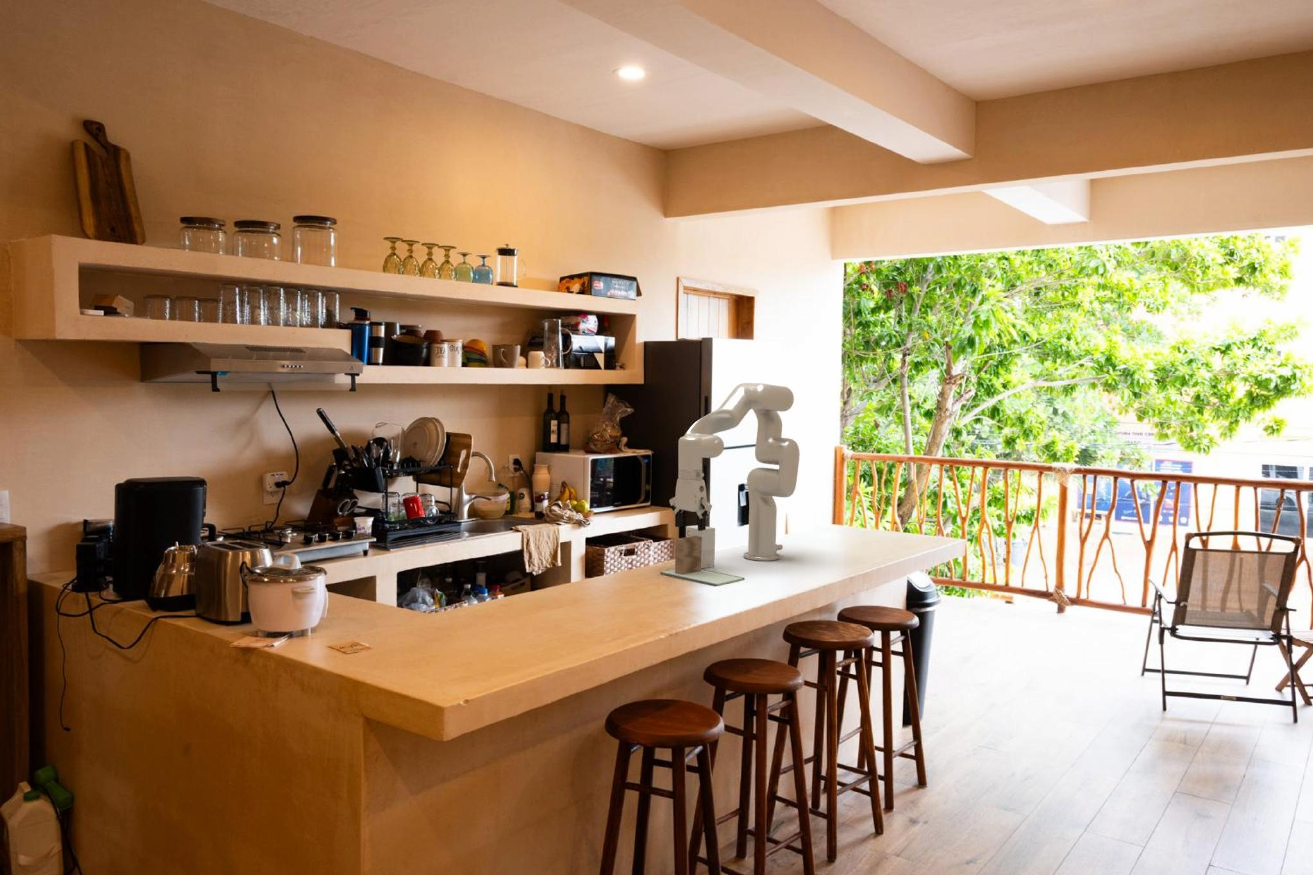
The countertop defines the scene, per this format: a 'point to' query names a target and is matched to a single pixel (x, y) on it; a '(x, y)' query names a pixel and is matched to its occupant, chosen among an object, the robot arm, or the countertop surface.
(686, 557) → the slab
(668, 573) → the mat
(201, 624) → the countertop surface
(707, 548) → the small box
